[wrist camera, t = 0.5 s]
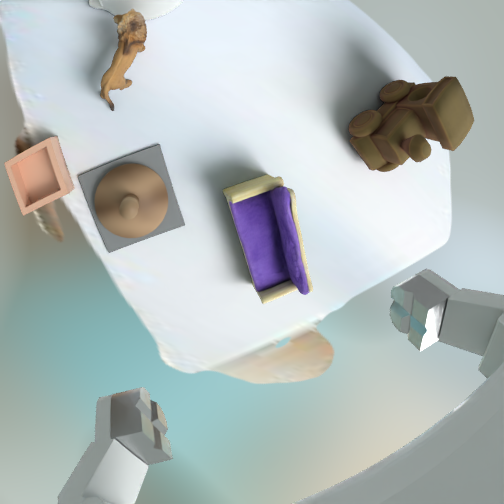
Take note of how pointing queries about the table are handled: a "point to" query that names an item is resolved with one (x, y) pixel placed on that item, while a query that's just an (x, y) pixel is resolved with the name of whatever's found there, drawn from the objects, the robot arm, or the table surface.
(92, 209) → the mat
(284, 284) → the toy sofa
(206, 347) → the table surface
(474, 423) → the robot arm
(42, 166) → the open box
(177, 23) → the table surface
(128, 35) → the lion figurine
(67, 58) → the table surface
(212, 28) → the table surface
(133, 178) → the lid
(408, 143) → the wooden toy train
